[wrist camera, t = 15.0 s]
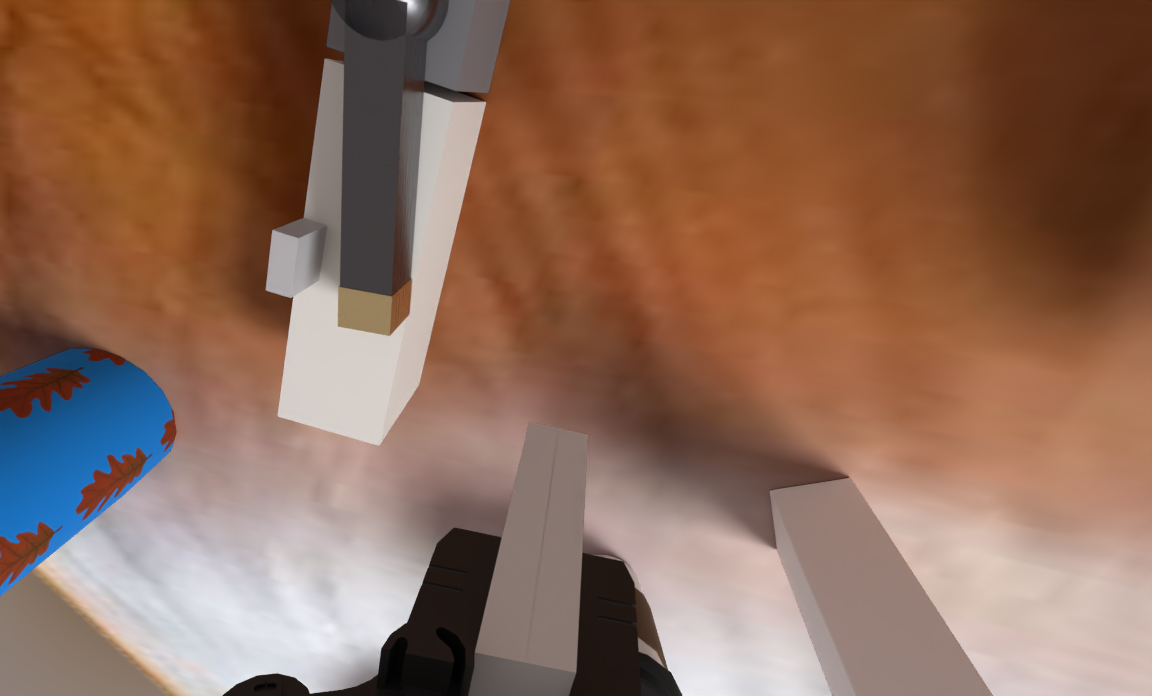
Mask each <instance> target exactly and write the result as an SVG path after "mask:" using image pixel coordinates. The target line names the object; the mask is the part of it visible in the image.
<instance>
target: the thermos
mask: <svg viewBox="0 0 1152 696" xmlns="http://www.w3.org/2000/svg"><path fill="white" fill-rule="evenodd" d="M175 436H176V426H175V419H174V412H173V410H172V408H171V406H170V404H169V402H168V401H167V399H166V397H165V395H164V393H163V391H162V390H161V389H160V388H159V387H158V386H157V385H156V384H155V382H154V381H153V380H152V379H151V378H150V377H149V376H148V375H147V374H146V373H145V372H144V371H142V370H141V369H139V368H138V367H136V366H135V365H133V364H131V363H130V362H128V361H127V360H125V359H123V358H122V357H120V356H117V355H113V354H110V353H107V352H104V351H101V350H97V349H68V350H66V351H63V352H60V353H58V354H55V355H53V356H50V357H48V358H45V359H43V360H40V361H37V362H35V363H32V364H30V365H27V366H25V367H22V368H20V369H17V370H15V371H12V372H10V373H7V374H5V375H2V376H0V596H1V595H2V594H4V593H5V592H6V591H7V590H8V589H10V588H11V587H12V586H13V585H15V584H16V583H17V582H18V581H19V580H21V579H22V578H23V577H24V576H26V575H27V574H28V573H29V572H30V571H32V570H33V569H34V568H35V567H37V566H38V565H39V564H40V563H41V562H43V561H44V560H45V559H46V558H48V557H49V556H50V555H51V554H52V553H54V552H55V551H56V550H57V549H58V548H60V547H61V546H62V545H63V544H65V543H66V542H67V541H68V540H69V539H71V538H72V537H73V536H74V535H76V534H77V533H78V532H79V531H80V530H82V529H83V528H84V527H85V526H87V525H88V524H89V523H90V522H91V521H93V520H94V519H95V518H96V517H98V516H99V515H100V514H101V513H102V512H104V511H105V510H106V509H107V508H108V507H110V506H111V505H112V504H113V503H115V502H116V501H117V500H118V499H119V498H121V497H122V496H123V495H124V494H125V493H126V492H127V491H128V490H130V489H131V488H132V487H133V486H134V485H135V484H136V483H137V482H138V481H139V480H140V479H141V478H143V477H144V476H145V475H146V474H147V473H148V472H149V471H150V470H151V469H152V468H153V467H154V466H155V465H157V464H158V463H159V462H160V461H161V460H162V459H163V458H164V457H165V456H166V455H167V454H168V453H169V452H170V451H171V448H172V445H173V442H174V439H175Z"/></svg>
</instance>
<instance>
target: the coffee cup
mask: <svg viewBox="0 0 1152 696" xmlns="http://www.w3.org/2000/svg"><path fill="white" fill-rule="evenodd" d="M595 556H600V557H605V558H609V559H614V560H619V561H622V560H621V559H618V558H615V557H612V556H609V555H595ZM624 563H625V562H624ZM625 565H626V567H627V569H628V571H629V573H630V575H631V577H632V579H633V581H634V583H635V599H636V606H635V609H636V615H637V626H636V628H637V632H638V648H639V664H640V681H641V696H682V694H681V692H680V690H679V688H678V686H677V684H676V682H675V680H674V678H673V676H672V674H671V672H670V671H668V668H667V665H666V661H665V658H664V654H663V651H662V647H661V644H660V640H659V637H658V633H657V630H656V626H655V623H654V619H653V616H652V612H651V609H650V606H649V604H648V602H647V600H646V598H645V596H644V592H643V589H642V585H641V583H640V581H639V579H638V577H637V575H636V573H635V572H634V571H633V569H632V568H631V567H630V566H628V565H627V564H626V563H625Z"/></svg>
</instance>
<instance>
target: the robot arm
mask: <svg viewBox="0 0 1152 696" xmlns="http://www.w3.org/2000/svg"><path fill="white" fill-rule="evenodd" d="M587 448H588V435H587V434H583V433H578V432H574V431H569V430H565V429H560V428H556V427H551V426H546V425H542V424H537V423H533V422H529V425H528V429H527V433H526V437H525V442H524V446H523V450H522V454H521V459H520V463H519V467H518V471H517V476H516V480H515V484H514V488H513V493H512V497H511V501H510V505H509V510H508V514H507V518H506V522H505V527H504V531H503V535H502V537H497V536H492V535H487V534H483V533H478V532H473V531H468V530H464V529H459V528H453V529H452V530H451V531H450V532H449V533H448V534H447V535H446V536H445V537H444V538H442V539H441V540H440V541H439V542H438V543H437V546H436V548H435V551H434V553H433V556H432V559H431V561H430V564H429V568H428V569H427V572H426V575H425V577H424V580H423V583H422V586H421V588H420V590H419V593H418V596H417V598H416V601H415V604H414V606H413V609H412V612H411V614H410V617H409V620H408V622H407V623H406V624H404V625H403V626H401V627H400V628H399V629H397V630H396V631H394V632H393V633H392V634H391V635H390V636H389V638H388V639H387V641H386V642H385V644H384V645H383V647H382V649H381V657H380V664H379V672H378V675H377V676H375V677H374V678H372V679H371V680H369V681H367V682H365V683H363V684H361V685H358V686H356V687H352V688H347V689H343V690H337V691H329V692H321V693H313V694H310V693H309V690H308V688H307V687H306V686H305V685H303V684H302V683H301V682H300V681H298V680H297V679H296V678H294V677H290V676H286V675H282V674H268V675H259V676H255V677H253V678H250V679H248V680H246V681H243V682H241V683H239V684H236V685H235V686H234V687H233V688H231V689H230V690H229V691H228V692H226V693H225V694H224V695H223V696H641V681H640V664H639V648H638V632H637V628H636V626H637V615H636V609H635V606H636V599H635V583H634V581H633V579H632V577H631V575H630V573H629V571H628V569H627V567H626V565H625V563H624V561H619V560H614V559H609V558H605V557H600V556H595V555H590V554H586V553H582V548H583V528H584V508H585V488H586V468H587Z"/></svg>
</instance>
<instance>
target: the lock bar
mask: <svg viewBox="0 0 1152 696" xmlns="http://www.w3.org/2000/svg"><path fill="white" fill-rule="evenodd" d="M331 2H332V4H333V6H334V8H335V10H336V12H337V13H338V15H339V16H340V17H341V19H342V20H343V21H344V22H345V38H344V91H343V145H342V198H341V252H340V286H339V287H338V327H343V328H348V329H354V330H359V331H365V332H370V333H376V334H382V335H387V336H390V335H391V334H392V333H393V332H394V331H395V330H396V329H397V328H398V327H399V325H400V324H401V323H402V322H403V321H404V320H405V319H406V318H407V317H408V316H409V314H410V304H411V290H412V278H411V272H412V257H413V242H414V228H415V213H416V199H417V184H418V170H419V155H420V141H421V126H422V112H423V97H424V82H425V68H426V53H427V41H429V40H430V39H431V38H433V37H434V36H435V35H436V34H437V33H438V31H439V30H440V29H441V27H442V25H443V23H444V21H445V18H446V15H447V11H448V5H449V0H331Z"/></svg>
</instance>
